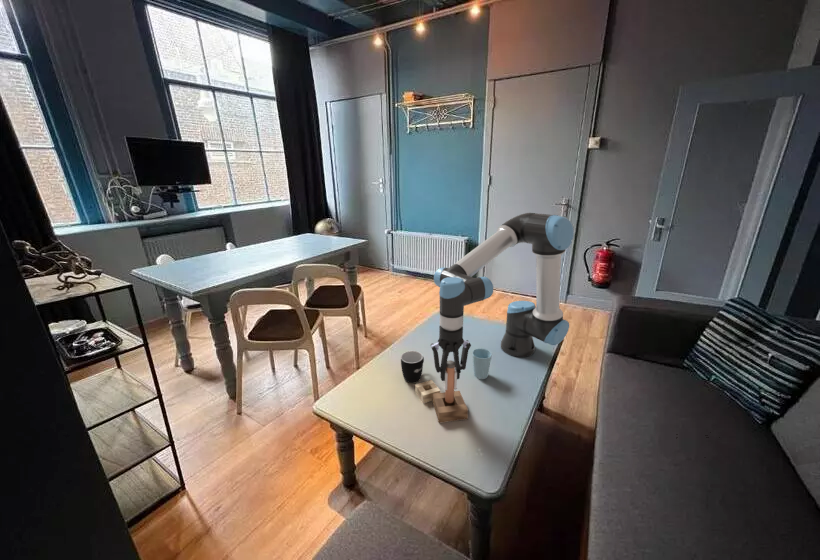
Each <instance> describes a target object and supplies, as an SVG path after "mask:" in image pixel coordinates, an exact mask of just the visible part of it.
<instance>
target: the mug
mask: <svg viewBox="0 0 820 560" xmlns="http://www.w3.org/2000/svg"><path fill="white" fill-rule="evenodd" d="M424 361H425V358H424V355H423V353H421V352H420V351H417V350H410V351H405V352H403V353H401V355H400V366H401V372H402V377H403V379H404V381H406V382H407V383H410V384H414V383H417V382H419V381H420V379H421V378H422V374H423V366H424V363H425V362H424Z"/></svg>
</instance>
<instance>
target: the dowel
mask: <svg viewBox="0 0 820 560" xmlns="http://www.w3.org/2000/svg"><path fill="white" fill-rule="evenodd" d="M446 372H447V374H448V377H447V390H445V389H444V390H445V391H444V392H445V401H446V402H447V403H453V401H454V391H455V389H454V372H455V362H454V360H447V365H446Z"/></svg>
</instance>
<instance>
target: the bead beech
mask: <svg viewBox="0 0 820 560" xmlns="http://www.w3.org/2000/svg"><path fill="white" fill-rule="evenodd" d="M414 386H415V389H414V390H415V394H416V395H417V397H418V399H420V401H421V403H422V404H425V403H426V404H427V403H429V402H433V394H435V393H441V389H440V388H439V387H438V385H436V383H435V382H434V381H433V379H430V380H427V381H423V382H420V383H416V384H415V385H414Z"/></svg>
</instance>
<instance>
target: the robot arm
mask: <svg viewBox="0 0 820 560" xmlns="http://www.w3.org/2000/svg"><path fill="white" fill-rule="evenodd" d="M574 235H575V233H574V226H573V224H572V221H571V220H570V219H568V217H565V216H561V215H559V214H558V215H557V214H545V213H536V212H525V213H522V214H519V215H516V216H514V217H511V218H510V219H508V220H506V221H505V222H504V223H502V224H501V225H499V226H498V227H497V230H496V232H495V233H493V234H491V236H489V237H488V238H487V239H485V240H483V241H482V242H481V243H480V244H479V245H477V246H476V247H475V248H473V249H472V250H470V252H467V254H466V255H464V256H462V257H461V258H460V259H458V261H456V262H455V263H453V264H452V265H451V266H450V267H443V266H442V267H440V268H438V269H437V270H436V271H434V275H433V282H434V284H435V286H437V287H438V288H439V292H438V293H439V294H438V295H439V322H438V323H439V328H438V329H439V331H438V332H439V336H438V339H437V342H435V343H431V344H430V347H431V351H432V353H433V361H434V368H435V370H436V373H438V374H439V373H440V375H439V376H440V380H441V382H442V386H443V388H444V390H447V377H448V374H447V372H446V365H447V361H448V360H449V356H450V353H453V354H452V355H453V361H454V362H455V372H454V390H457V387H458V386H457V385H458V383H457V382H458V381H457V380H460V376H461V372H462V370H466V368H467V363H468V355H469V350H470V348H471V346H472V344H471V343H470V341H469V340H468V339H467V340H464V338H463V337H464V335H463V334H464V315H465V314H464V311H465V306H469V305H471V304H475V303H477V302H478V303H479V302H483V301H484V300H487V299H490V298H491V297H492V296H493V294H494V285H493V282H492V280H491V279H490V278H488V277H487V276H477V277H473V276H474V275H475V274H477V273H478V272H479V271H481V270H482V269H483V268H485V267H486V266H487V265H488V264H490V263H491V262H492V261H493V260H494V259H496V258H497V257H498V256H500V255H501V254H502V253H503V252H504V251H506V250H507V249H509V247H510V248H512V247H515V246H517V245H518V244H521V243H522V244H523V243H526V244H530V245H531V250H532V251H531V252H532V253H533V254H534V255H535V256H536V264H535V268H536V281H535V282H536V293H535V294H536V297H535V298H536V304H535V302H532V301H530V300H515V301H512V302H511V303H509V304H508V306H507V311H506V324H505V333H504V335H503V337H502V338H501V339H502V340H500V341H501V342H500V349H501V351H503V352H504V353H505V354H507V355H510V356H513V357H518V358H525V357H530V356H532V355H534V353H535V350H536V346H535V342H534V338H535V339H537V340H539V341H541V342H543V343H545V344H549V345H551V346H557V345H558V344H560V343H561V342H562V341H564V339H565V338H566V336H567V334H568V333H569V329H570V323H569V322H568V320H566V319H564V311H563V310H562V309H561V308H560V297H561V295H560V294H561V292H560V291H561V268H562V267H561V266H562V265H561V264H562V263H561V262H562V261H561V260H562V259H561V258H562V255H563V254H565V253H566V249H568V248H569V247H570V246H571V245H572V243H573V242H572V241H573V239H574ZM439 347H440V348H441V349H442V352H441V353H442V355H441V360H440V357H439V352H438V351H439ZM461 347H462V350H461V354H460V355H461V356H460V355H459V349H460V348H461Z"/></svg>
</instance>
